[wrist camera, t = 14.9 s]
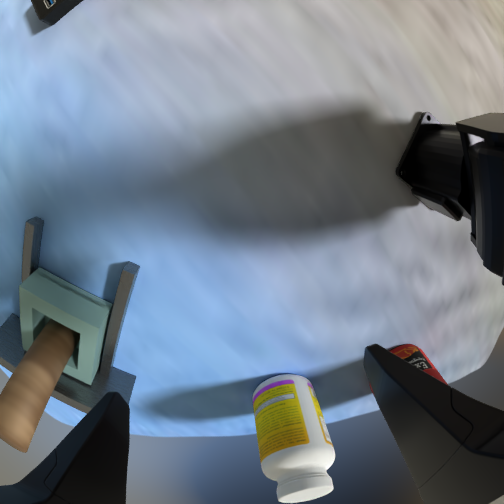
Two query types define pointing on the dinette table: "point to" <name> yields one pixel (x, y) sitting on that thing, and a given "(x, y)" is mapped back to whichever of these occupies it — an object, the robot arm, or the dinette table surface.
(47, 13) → the multiport hub
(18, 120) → the dinette table surface
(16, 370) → the walnut dowel
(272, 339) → the dinette table surface
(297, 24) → the dinette table surface
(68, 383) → the rail and backstop frame
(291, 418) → the supplement bottle
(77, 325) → the sliding socket block
